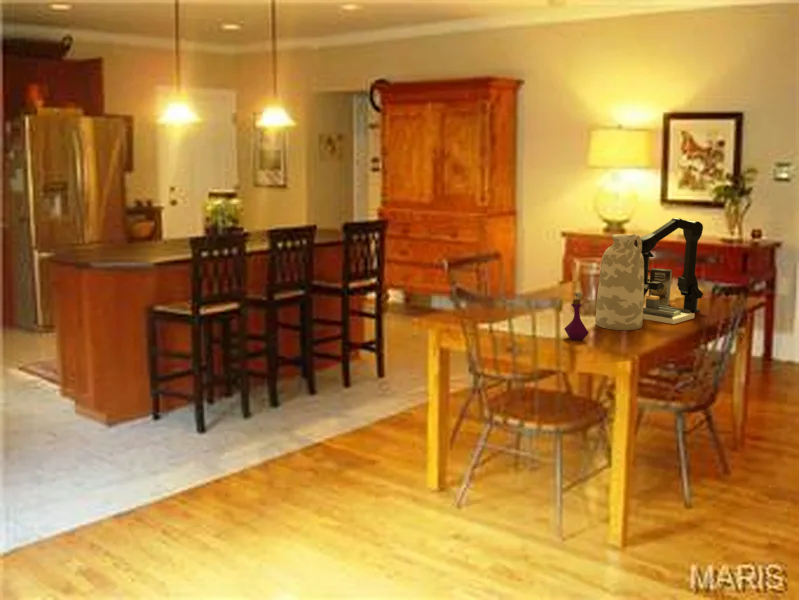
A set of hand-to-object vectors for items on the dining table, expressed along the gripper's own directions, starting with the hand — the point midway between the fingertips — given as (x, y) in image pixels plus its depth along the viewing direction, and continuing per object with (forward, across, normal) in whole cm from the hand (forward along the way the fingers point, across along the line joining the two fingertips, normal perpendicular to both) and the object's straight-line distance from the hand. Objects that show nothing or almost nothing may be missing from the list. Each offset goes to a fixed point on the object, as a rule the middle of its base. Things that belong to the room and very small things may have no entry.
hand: (639, 303), depth 396 cm
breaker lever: (+2, +6, 0) cm, 7 cm away
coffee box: (+5, -5, +26) cm, 27 cm away
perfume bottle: (+5, +9, -62) cm, 63 cm away
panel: (+4, +10, 0) cm, 11 cm away
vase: (+5, +8, -29) cm, 31 cm away
